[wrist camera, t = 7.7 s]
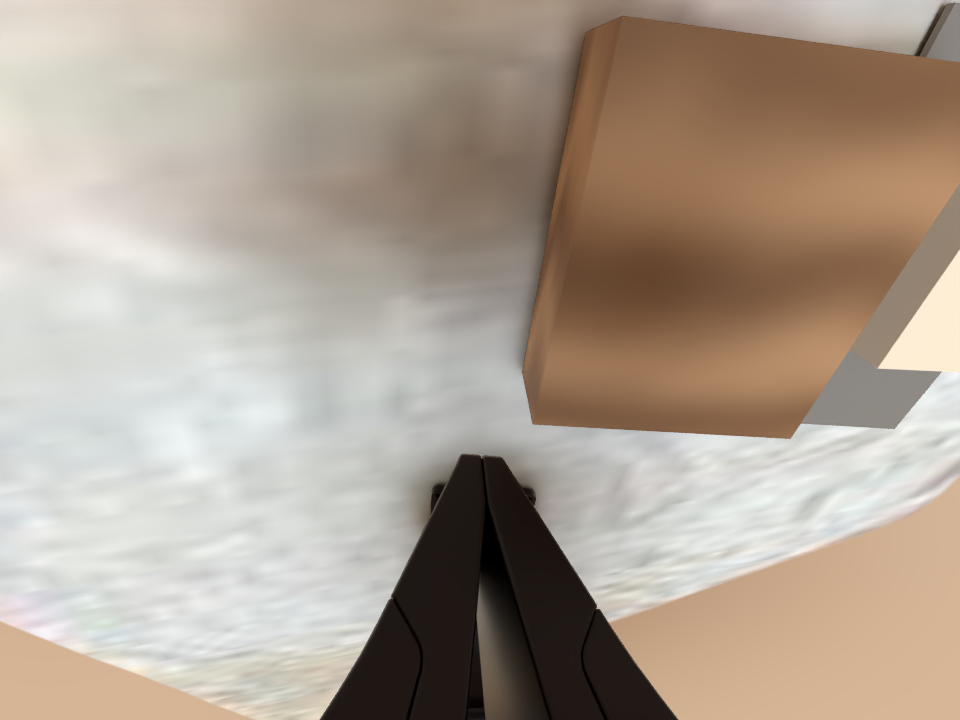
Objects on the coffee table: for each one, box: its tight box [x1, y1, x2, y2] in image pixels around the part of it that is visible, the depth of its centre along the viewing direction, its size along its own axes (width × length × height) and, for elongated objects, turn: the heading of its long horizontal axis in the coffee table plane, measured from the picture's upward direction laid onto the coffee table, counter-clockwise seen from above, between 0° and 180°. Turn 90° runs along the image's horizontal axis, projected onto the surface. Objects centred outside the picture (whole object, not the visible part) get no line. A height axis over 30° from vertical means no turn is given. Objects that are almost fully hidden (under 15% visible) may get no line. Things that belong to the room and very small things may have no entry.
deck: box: [522, 16, 960, 439], centre depth 17 cm, size 14×12×4 cm
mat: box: [801, 3, 960, 429], centre depth 19 cm, size 18×10×1 cm, turn 174°
